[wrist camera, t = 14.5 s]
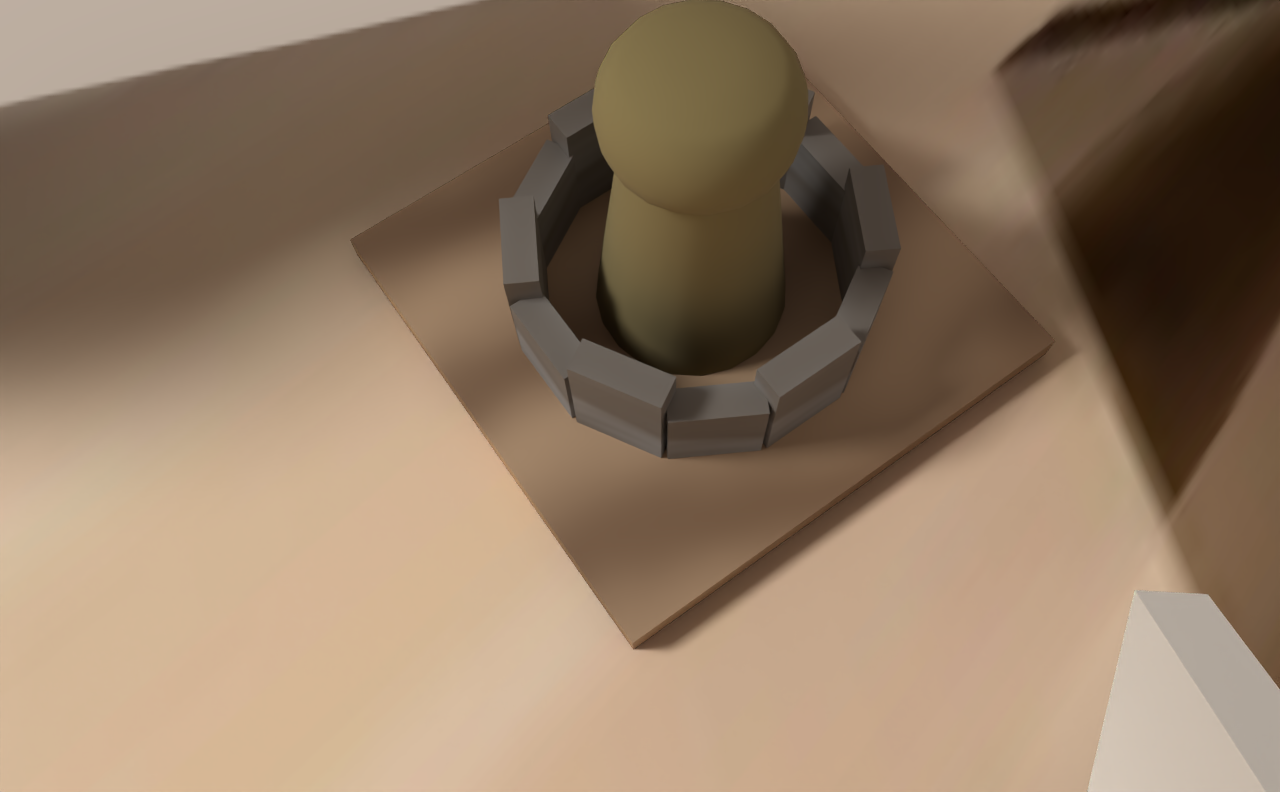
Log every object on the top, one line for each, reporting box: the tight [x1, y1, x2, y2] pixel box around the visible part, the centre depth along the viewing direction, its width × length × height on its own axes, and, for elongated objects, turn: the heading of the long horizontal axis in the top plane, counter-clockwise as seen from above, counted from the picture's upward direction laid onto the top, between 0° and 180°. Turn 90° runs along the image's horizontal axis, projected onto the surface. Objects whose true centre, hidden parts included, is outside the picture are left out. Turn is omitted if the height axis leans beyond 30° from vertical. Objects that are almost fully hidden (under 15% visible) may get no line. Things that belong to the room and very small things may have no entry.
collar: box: [350, 77, 1055, 649], centre depth 34 cm, size 16×16×5 cm
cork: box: [592, 0, 808, 376], centre depth 31 cm, size 6×6×11 cm
